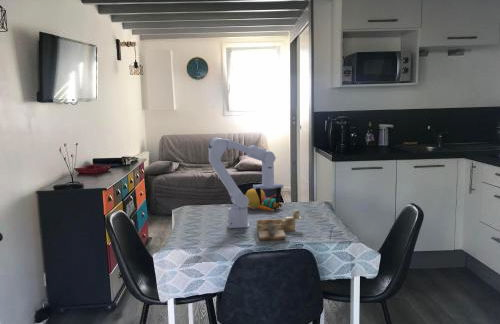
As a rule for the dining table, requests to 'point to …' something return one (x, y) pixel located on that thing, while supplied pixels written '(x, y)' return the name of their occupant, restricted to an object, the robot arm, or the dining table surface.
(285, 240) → the mat
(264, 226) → the open wooden box
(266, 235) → the lid
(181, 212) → the dining table surface
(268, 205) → the toy
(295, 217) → the beige piece
